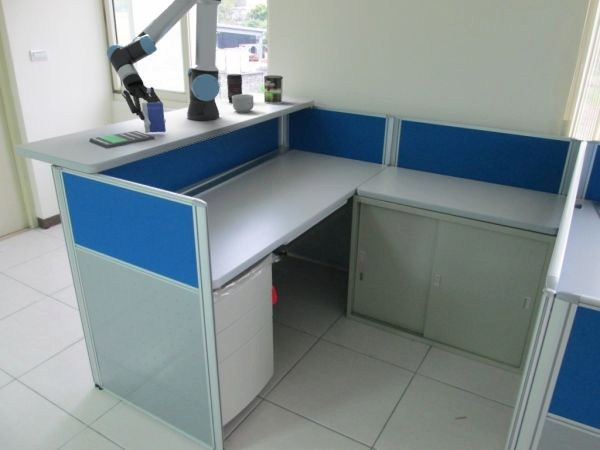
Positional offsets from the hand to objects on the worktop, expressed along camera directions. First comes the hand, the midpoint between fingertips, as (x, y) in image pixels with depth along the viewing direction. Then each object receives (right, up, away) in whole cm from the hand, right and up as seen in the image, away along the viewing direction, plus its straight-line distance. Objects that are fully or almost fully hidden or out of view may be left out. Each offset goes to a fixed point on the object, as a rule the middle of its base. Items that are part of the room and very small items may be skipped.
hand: (156, 124), depth 204 cm
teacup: (+29, +17, +54) cm, 64 cm away
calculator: (-12, -8, -6) cm, 15 cm away
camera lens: (+22, +27, +76) cm, 84 cm away
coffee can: (+43, +28, +78) cm, 94 cm away
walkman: (-1, -3, +3) cm, 5 cm away
